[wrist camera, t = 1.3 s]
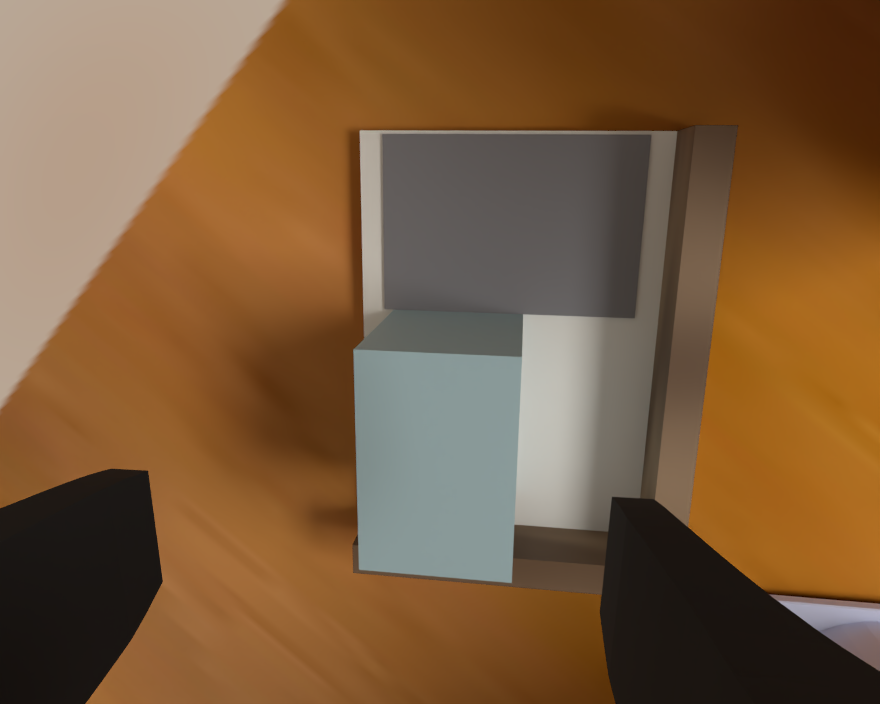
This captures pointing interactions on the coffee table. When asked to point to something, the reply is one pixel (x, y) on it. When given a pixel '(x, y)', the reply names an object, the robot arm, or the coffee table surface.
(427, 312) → the teal block
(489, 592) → the coffee table surface
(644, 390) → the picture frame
